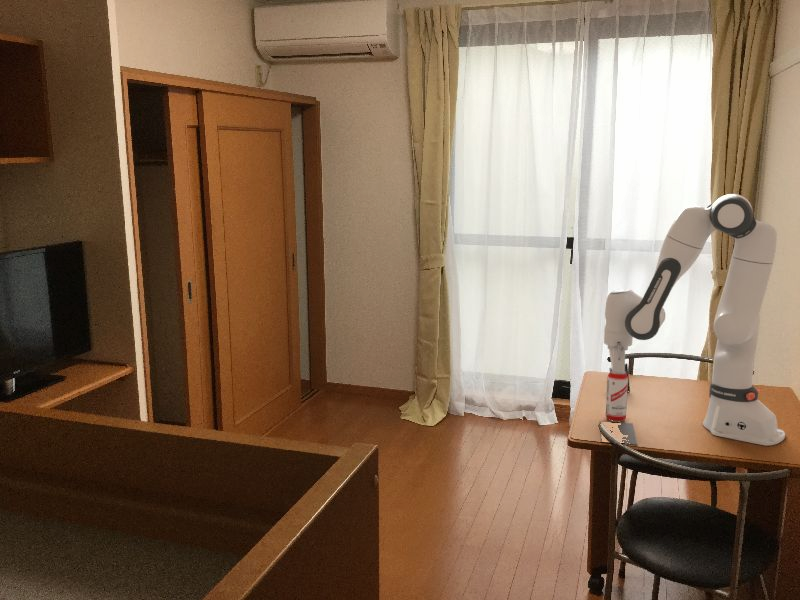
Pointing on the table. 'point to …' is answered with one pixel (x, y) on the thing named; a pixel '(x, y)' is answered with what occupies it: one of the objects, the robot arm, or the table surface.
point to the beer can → (616, 396)
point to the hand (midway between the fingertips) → (616, 379)
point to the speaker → (627, 375)
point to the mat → (627, 433)
